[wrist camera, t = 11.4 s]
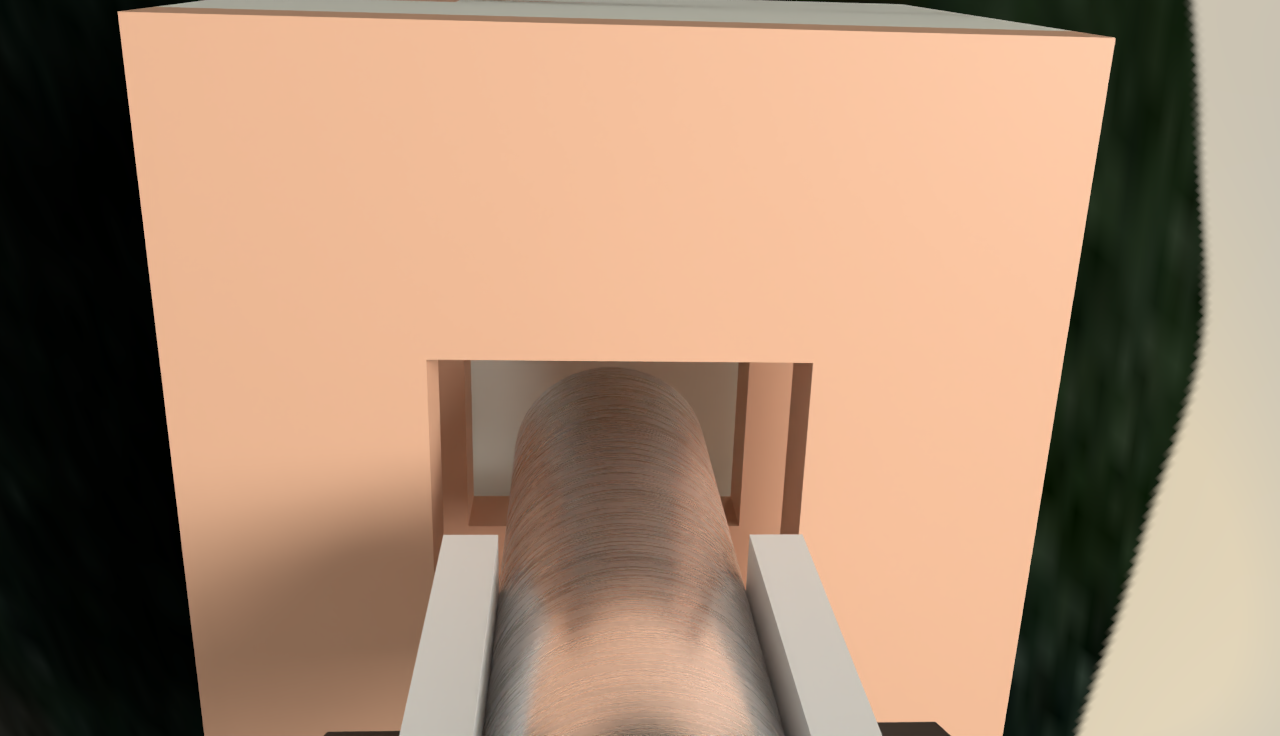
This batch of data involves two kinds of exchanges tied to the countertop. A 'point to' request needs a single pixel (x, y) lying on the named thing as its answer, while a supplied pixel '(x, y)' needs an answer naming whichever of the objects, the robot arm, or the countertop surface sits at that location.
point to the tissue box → (604, 306)
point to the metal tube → (621, 575)
